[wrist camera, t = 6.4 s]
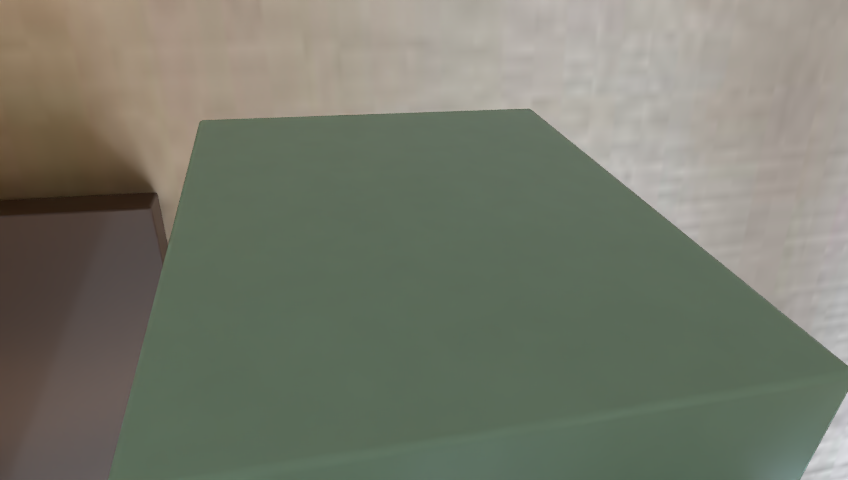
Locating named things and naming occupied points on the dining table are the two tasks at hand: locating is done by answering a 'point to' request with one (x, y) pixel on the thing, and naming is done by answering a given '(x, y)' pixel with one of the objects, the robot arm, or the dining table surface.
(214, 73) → the dining table surface
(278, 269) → the toaster
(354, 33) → the dining table surface
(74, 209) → the board
